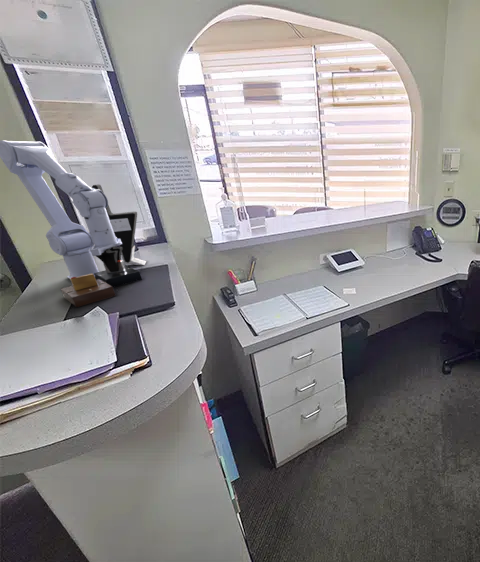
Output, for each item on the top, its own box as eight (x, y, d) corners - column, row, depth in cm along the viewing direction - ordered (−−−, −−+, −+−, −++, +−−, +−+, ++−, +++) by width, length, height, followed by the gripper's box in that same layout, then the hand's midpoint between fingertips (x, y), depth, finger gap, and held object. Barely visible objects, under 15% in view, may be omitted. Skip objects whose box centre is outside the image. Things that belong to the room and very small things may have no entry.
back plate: (96, 281, 103) (93, 272, 102) (128, 273, 110) (125, 264, 109) (109, 288, 97) (105, 279, 96) (142, 279, 104) (139, 270, 103)
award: (101, 271, 113) (69, 186, 102) (105, 267, 118) (74, 185, 107) (150, 264, 120) (124, 183, 109) (152, 260, 124) (128, 182, 113)
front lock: (96, 284, 92) (91, 272, 91) (97, 284, 92) (93, 273, 90) (74, 289, 88) (69, 277, 87) (75, 290, 88) (70, 278, 86)
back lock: (106, 273, 101) (102, 262, 100) (108, 272, 102) (104, 261, 101) (124, 271, 102) (120, 261, 101) (125, 270, 104) (122, 259, 102)
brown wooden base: (64, 298, 91) (59, 288, 90) (102, 287, 98) (99, 278, 97) (75, 307, 84) (71, 297, 83) (116, 295, 91) (112, 285, 90)
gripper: (104, 233, 92) (119, 276, 97) (126, 224, 105) (138, 262, 110) (75, 236, 90) (93, 279, 95) (101, 226, 103) (115, 265, 108)
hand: (116, 270), depth 102 cm, fingers closed on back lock
